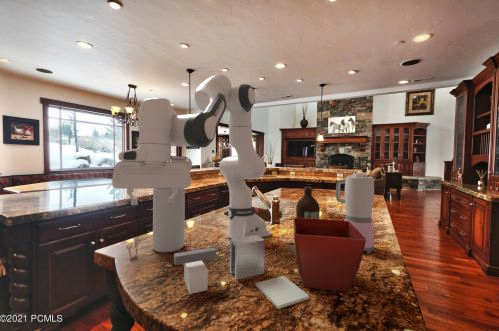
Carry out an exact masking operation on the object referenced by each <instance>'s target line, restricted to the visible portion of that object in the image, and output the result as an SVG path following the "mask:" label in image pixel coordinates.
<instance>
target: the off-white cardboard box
mask: <svg viewBox="0 0 499 331" xmlns="http://www.w3.org/2000/svg"><path fill="white" fill-rule="evenodd" d="M183 269H184V270H183V272H184V274H183V275H184V277H183V281H184V283H185V286H186V288H187V291H188V292H189V294H190V295H192V294H195V293H200V292H204V291H207V290H208V286H209V285H208V284H209V283H208V278H209V277H208V276H209V273H208V272H209V268H207V265H205V263H204V262H203V260H202V261H196V262H191V263H185V264H183Z"/></svg>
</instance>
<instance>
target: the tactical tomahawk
mask: <svg viewBox="0 0 499 331" xmlns="http://www.w3.org/2000/svg"><path fill="white" fill-rule="evenodd" d="M283 245H286V246H287V247H289V249H290V250H291V252H292V254H293V255H294V257H295V258H296V259H297V255H296V248H294V246H293V245H295V242H284V244H283Z"/></svg>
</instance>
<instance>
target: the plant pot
mask: <svg viewBox="0 0 499 331" xmlns="http://www.w3.org/2000/svg"><path fill="white" fill-rule="evenodd" d="M293 235H294V236H293V237H294V245H295V246H294V247H295V248H294V249H295V251H296V255H297V258H296V260H297V266H298V269H299V275H300V278H301V282H302V285H303V287H305V288H306V289H307V288H308V289H316V290H326V291H335V292H344V293H347V292H349V291H350V290H351V287H352V286H353V283H354V281H355V279H356V277H357V274H358V271H359V268H360V267H361V262H362V259H363V255H364V252H365V251H364V248H365V243H366V238H365V237H364V236H363V235H362V234H361V233H360V232H359V231H358V230H357V229H356V228H355V227H354V225H353V224H352V223H351V222H350V221H344V220H340V219H323V218H319V219H310V218H297V217H293Z"/></svg>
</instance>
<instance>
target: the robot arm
mask: <svg viewBox="0 0 499 331" xmlns="http://www.w3.org/2000/svg"><path fill="white" fill-rule="evenodd" d="M194 101H195V104H196V105H197V107H198V108H199V110H201V111H202V112H200V113H199V112H198V113H195V114H194V113H193V114H178V113H177V112H176V111H175V110H174V108H173V107H172V105H171V101H170V99H167V98H166V97H165V98H163V97H150V98H149V97H148V98H145V99H143V100H142V101H141V102H140V106H139V109H138V110H139V111H138V116H137V119H138V121H137V130H138V134H139V136H138V140H137V147H136V148H133V149H129V150H125V151H120V152H119V153H118V160H119V161H118V162H116V164H115V166H114V168H113V172H112V177H111V178H112V180H111V185H112V187H113V188H114V189H122V190H123V189H125V190H126V193H127V195H128V196H129V198H130V200H131V201H130V202H131V204H130V205H131V206H138V204H139V202H138V201H139V198H138V197H135V196H134V194H133V192H134V189H153V188H172V191H173V192H174V193H173V195H172V196H171V197H168V204H174V197H175V196H176V194H177V193H178V188H185V189H188V188H189V187H190V186H191V185H192V179H191V170H192V168H193V162H192V160H191V159H190V158H189V157H187V156H179V155H178V156H177V155H172V147H197V148H207V147H208V146H209V145H210V144H211V143H212V142H213V140H215V136H216V133H217V128H218V126H219V125H220V122H221V121H222V118H223V117H224V114H225V113H227V112H229V118H228V119H229V121H228V134H229V135H228V139H229V144H230V146H231V147H232V148H234V150H235V151H236V153H237V156H236V155H230V156H227V157H223V158H222V159H221V160H220V161H219V166H218V167H219V168H218V169H219V172H220V174H221V175H222V176H223V177H224V179H225V181H226V183H227V184H226V185H227V187H228V193H229V206H228V212H227V213H228V214H227V215H228V225H227V230H226V234H225V236H226V237H227V238H230V239H236V238H242V237H249V236H256V235H257V236H259V237H261V238H262V239H263V238H266V237H269V236H272V232H271V230H269V229H268V228H267V224H266V221H265V220H264V219H263V218H261V217H260V216H259V215H258V214H256V213H259V211H260V208H258V207H254V206H253V191H252V189H251V188H250V187H249V186H248V185H247V183H246V180H256V179H260V178H262V177H263V176H264V174H265V171H266V164H265V161H264V160H263V159H262V158H261V157H260V156H259V155H258V153H257V151H256V149H255V147H254V144H253V143H254V142H253V130H252V128H253V127H252V126H253V125H252V116H251V112H250V111H251V110H252V108H253V107H254V105H255V103H256V93H255V90H254V88H253V87H252V86H251V85H250V84H248V83H247V84H246V83H242V84H232V83H231V80H230V79H229V77H228V76H227V75H224V74H223V73H222V74H221V73H217V74H213V75H212V76H210V77H209V78H207V79H205V80H204V81H203V82H202V83H201V84H200V85H199V86H198V87H197V88H196V90H195V92H194Z"/></svg>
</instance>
